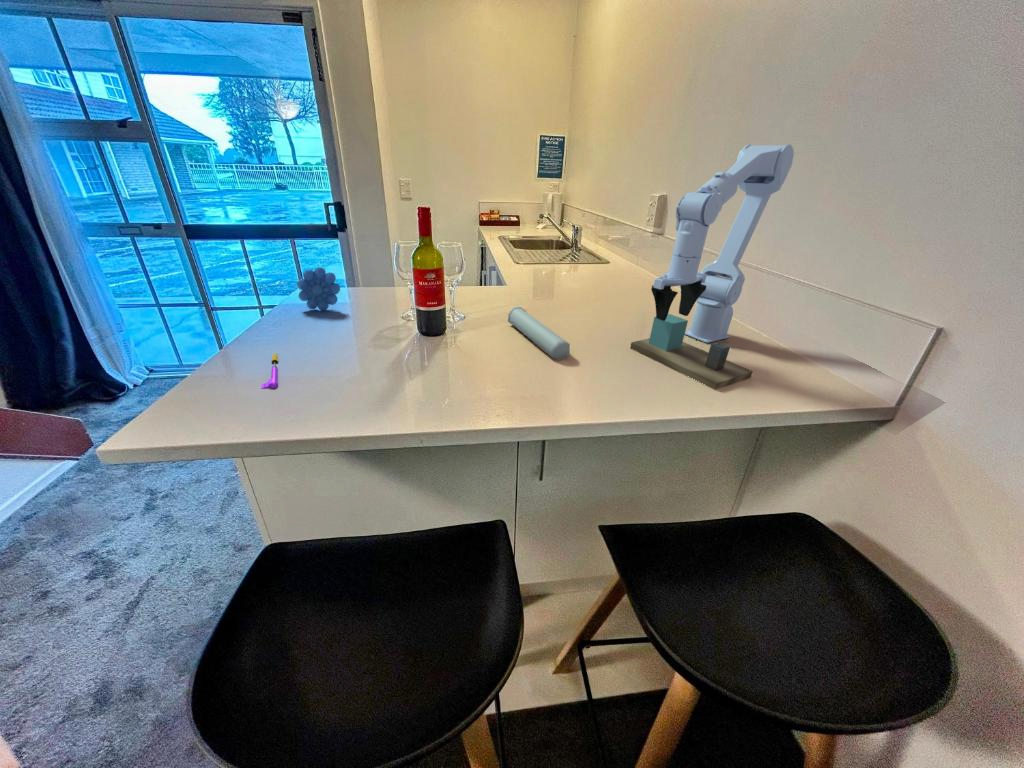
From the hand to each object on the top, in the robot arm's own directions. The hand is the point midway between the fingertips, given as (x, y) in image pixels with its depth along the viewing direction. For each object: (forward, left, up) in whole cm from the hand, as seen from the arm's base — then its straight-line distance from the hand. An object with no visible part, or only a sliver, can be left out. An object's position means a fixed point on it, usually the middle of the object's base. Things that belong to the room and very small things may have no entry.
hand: (672, 316), depth 91 cm
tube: (+24, -18, -9) cm, 31 cm away
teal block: (0, 0, -7) cm, 7 cm away
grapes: (+66, -63, -9) cm, 92 cm away
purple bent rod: (+81, -28, -9) cm, 86 cm away
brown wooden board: (0, +7, -9) cm, 11 cm away
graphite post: (0, +13, -7) cm, 15 cm away
